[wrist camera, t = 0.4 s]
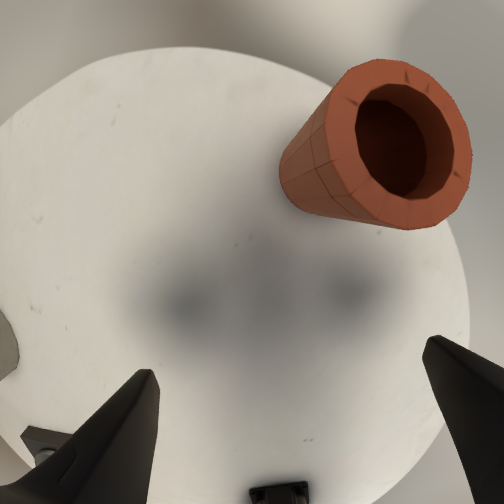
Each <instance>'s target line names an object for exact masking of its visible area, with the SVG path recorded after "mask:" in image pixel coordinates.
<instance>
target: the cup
mask: <svg viewBox="0 0 504 504" xmlns="http://www.w3.org/2000/svg"><path fill="white" fill-rule="evenodd" d="M18 360H19V351H18V344H17V340H16V338H15V335H14V333H13V330H12V328H11V325H10V324H9V322H8V321H7V319H6V318H5V316H4V315H3V313H2V312H1V310H0V381H1V380H2V379H3V378H4V377H6V376H7V375H8V374H9V373H11V372H12V371H13V370H14V369H15V368H17V364H18Z"/></svg>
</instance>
